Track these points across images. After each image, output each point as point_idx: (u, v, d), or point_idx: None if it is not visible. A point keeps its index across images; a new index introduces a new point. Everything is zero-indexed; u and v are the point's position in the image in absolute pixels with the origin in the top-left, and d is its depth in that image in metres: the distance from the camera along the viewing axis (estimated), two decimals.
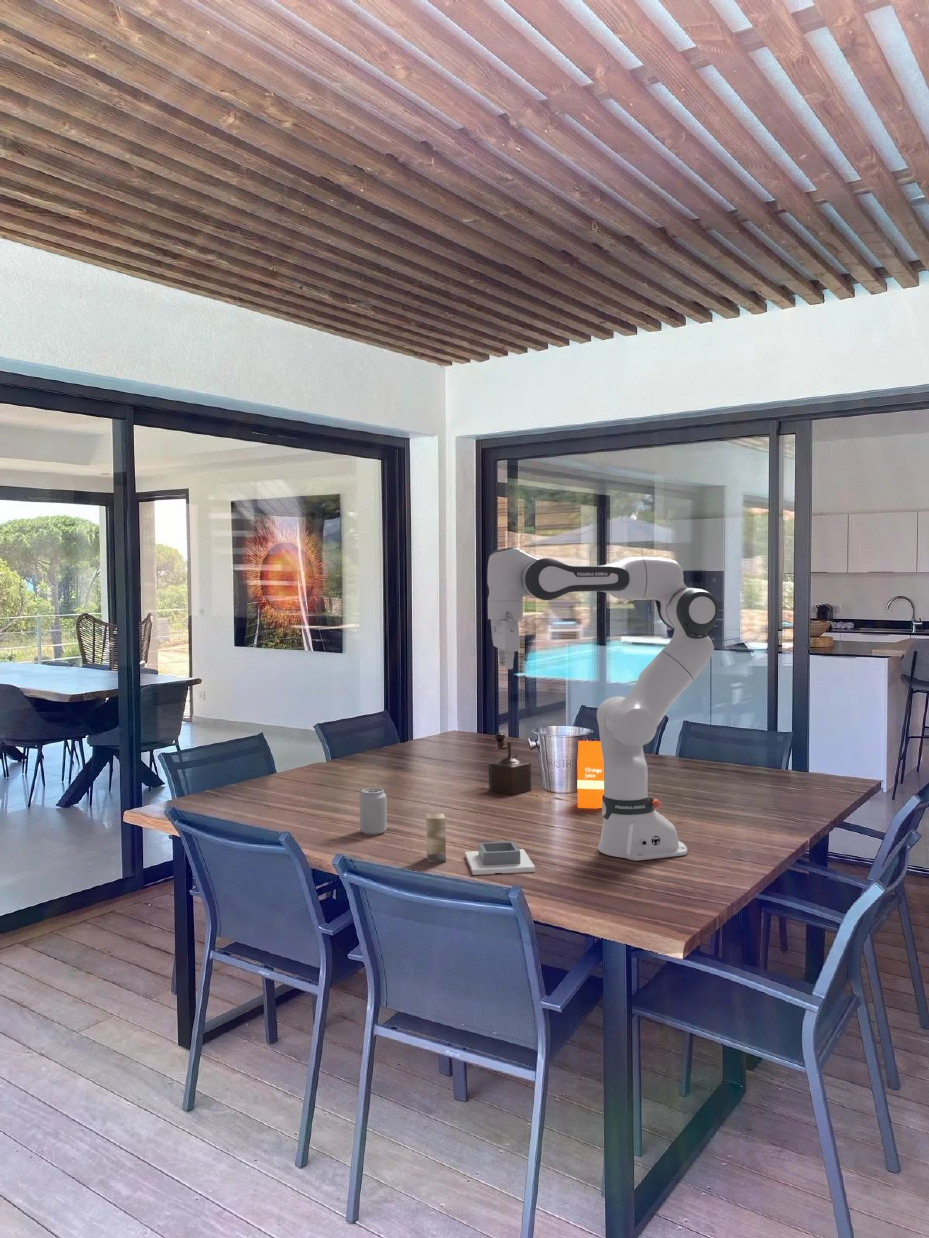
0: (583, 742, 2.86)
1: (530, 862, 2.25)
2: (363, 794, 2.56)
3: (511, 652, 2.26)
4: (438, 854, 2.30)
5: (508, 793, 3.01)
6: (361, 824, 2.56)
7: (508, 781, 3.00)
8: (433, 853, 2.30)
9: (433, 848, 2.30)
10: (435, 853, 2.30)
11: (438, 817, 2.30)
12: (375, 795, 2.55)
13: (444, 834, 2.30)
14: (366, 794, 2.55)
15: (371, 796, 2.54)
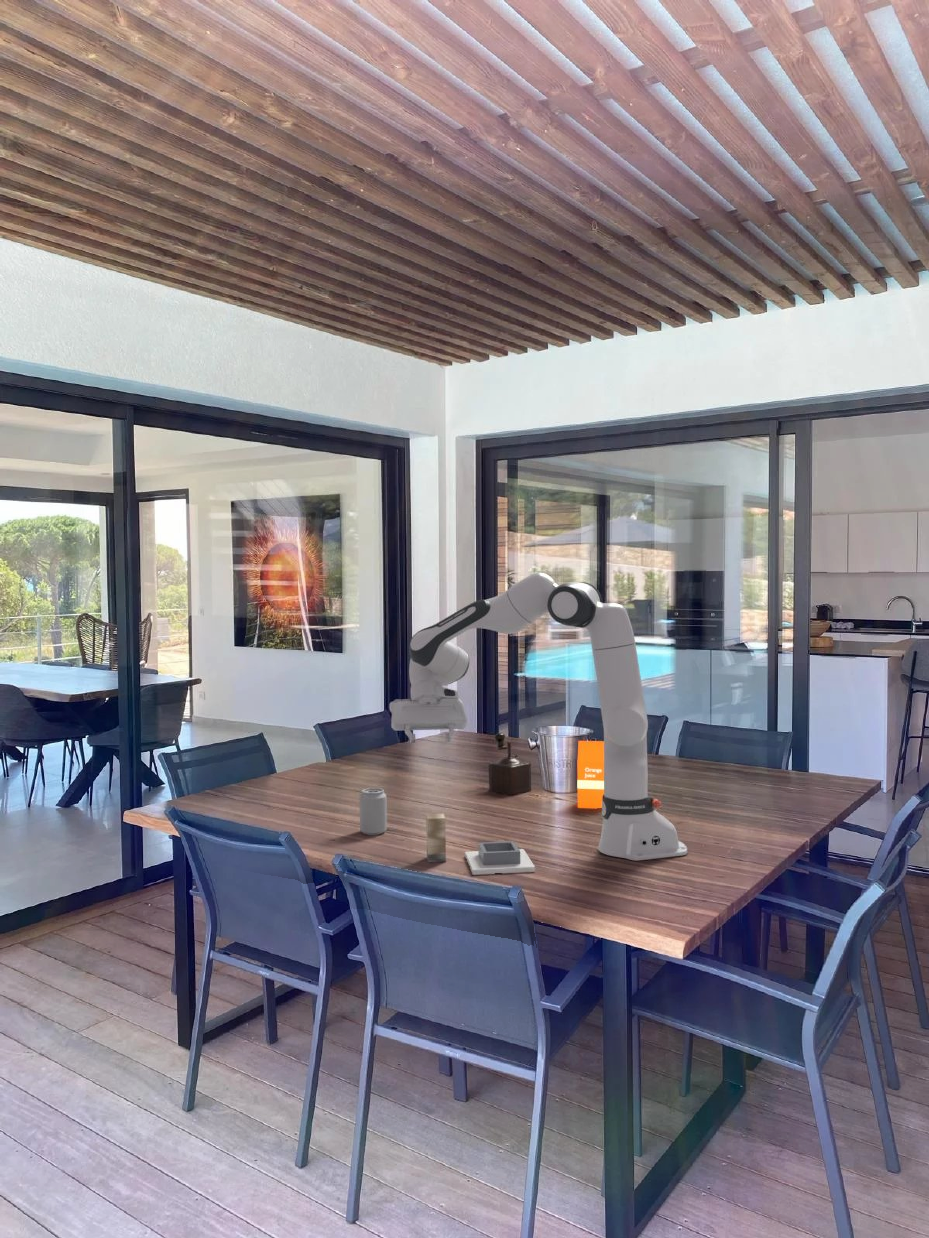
0: (583, 742, 2.86)
1: (530, 862, 2.25)
2: (363, 794, 2.56)
3: (405, 727, 2.45)
4: (438, 854, 2.30)
5: (508, 793, 3.01)
6: (361, 824, 2.56)
7: (508, 781, 3.00)
8: (433, 853, 2.30)
9: (433, 848, 2.30)
10: (435, 853, 2.30)
11: (438, 817, 2.30)
12: (375, 795, 2.55)
13: (444, 834, 2.30)
14: (366, 794, 2.55)
15: (371, 796, 2.54)
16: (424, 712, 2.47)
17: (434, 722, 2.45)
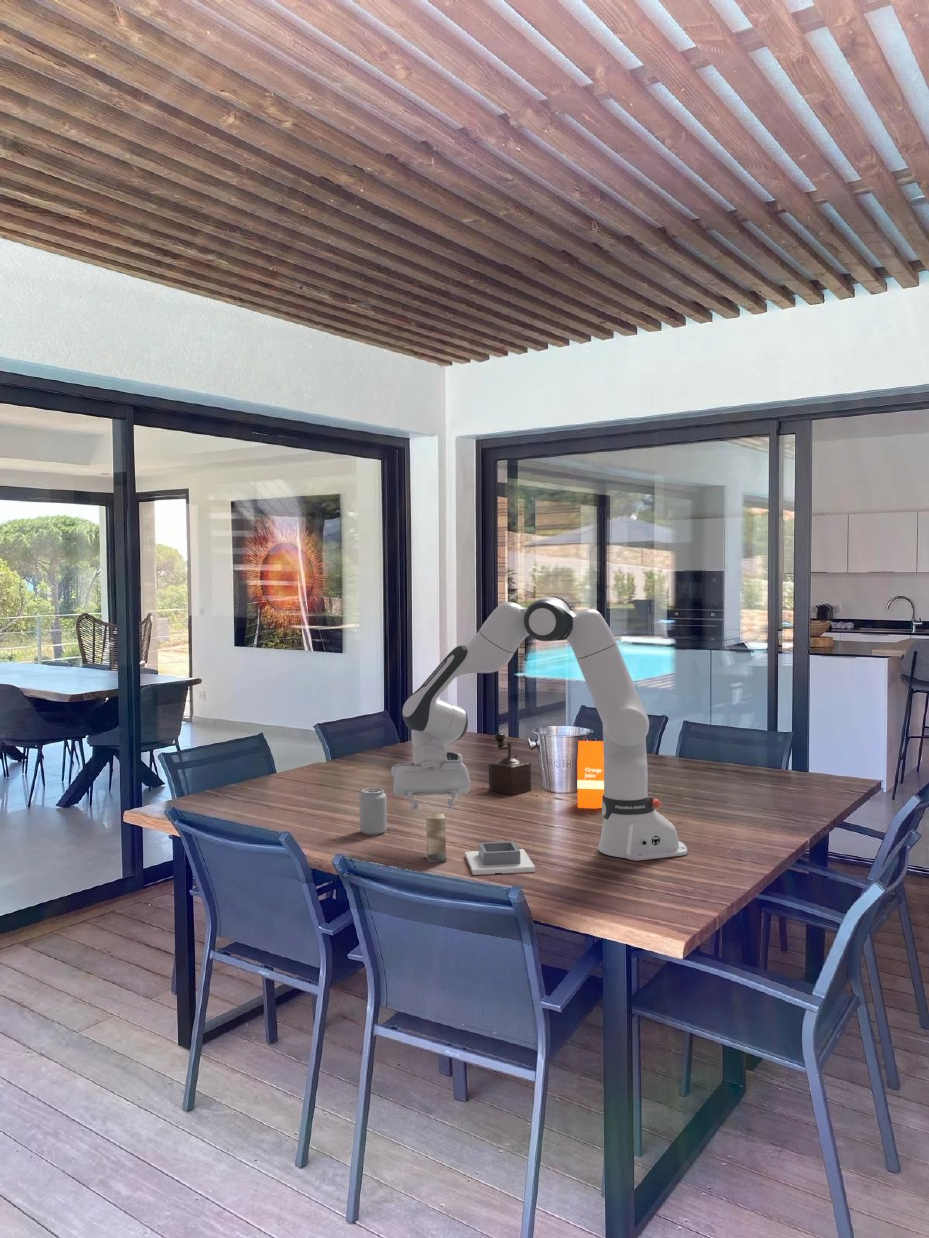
0: (583, 742, 2.86)
1: (530, 862, 2.25)
2: (363, 794, 2.56)
3: (407, 793, 2.40)
4: (438, 854, 2.30)
5: (508, 793, 3.01)
6: (361, 824, 2.56)
7: (508, 781, 3.00)
8: (433, 853, 2.30)
9: (433, 848, 2.30)
10: (435, 853, 2.30)
11: (438, 817, 2.30)
12: (375, 795, 2.55)
13: (444, 834, 2.30)
14: (366, 794, 2.55)
15: (371, 796, 2.54)
16: (426, 777, 2.42)
17: (437, 788, 2.40)
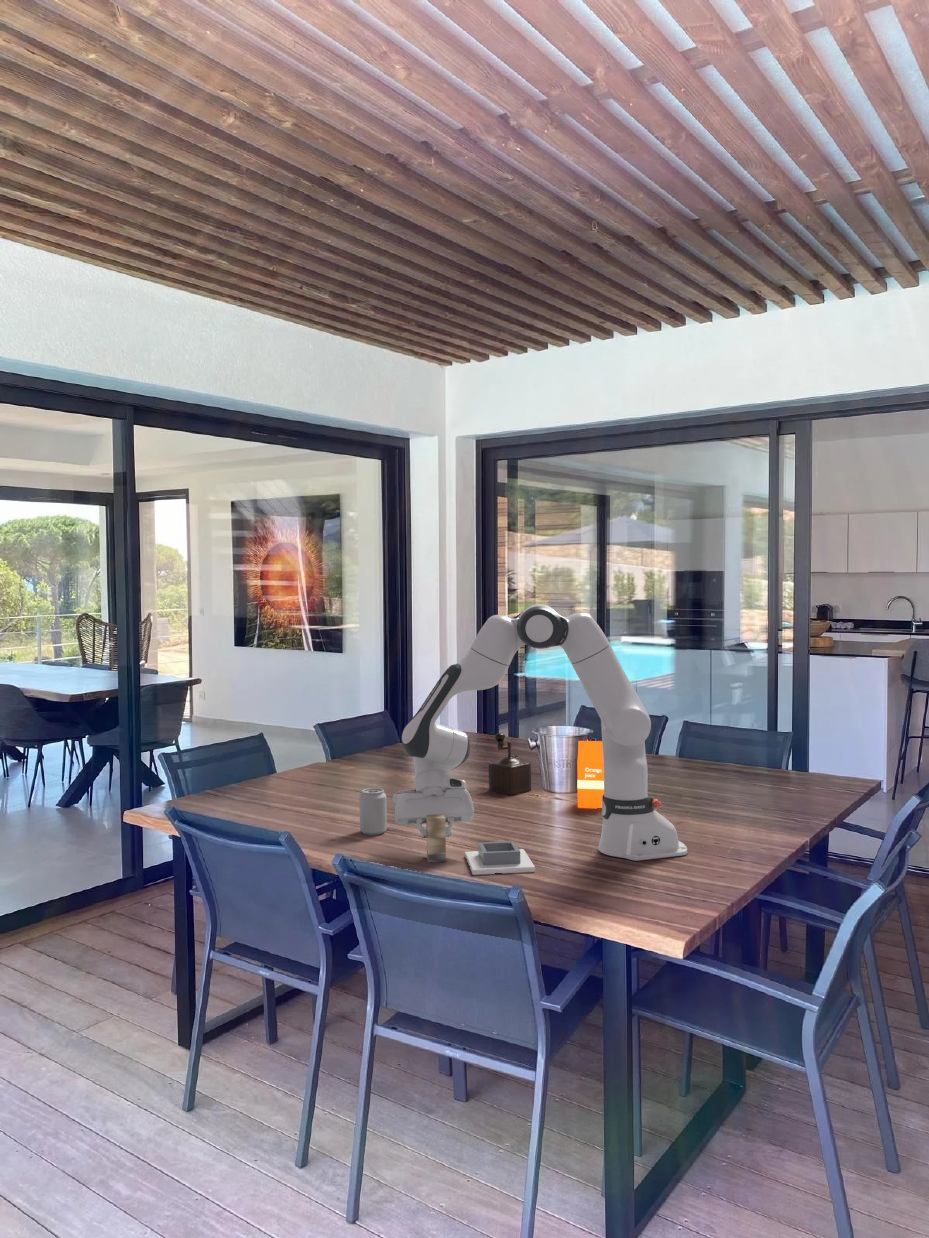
0: (583, 742, 2.86)
1: (530, 862, 2.25)
2: (363, 794, 2.56)
3: (416, 821, 2.33)
4: (438, 853, 2.30)
5: (508, 793, 3.01)
6: (361, 824, 2.56)
7: (508, 781, 3.00)
8: (433, 853, 2.30)
9: (433, 848, 2.30)
10: (435, 853, 2.30)
11: (438, 817, 2.30)
12: (375, 795, 2.55)
13: (444, 834, 2.30)
14: (366, 794, 2.55)
15: (371, 796, 2.54)
16: (429, 805, 2.35)
17: None
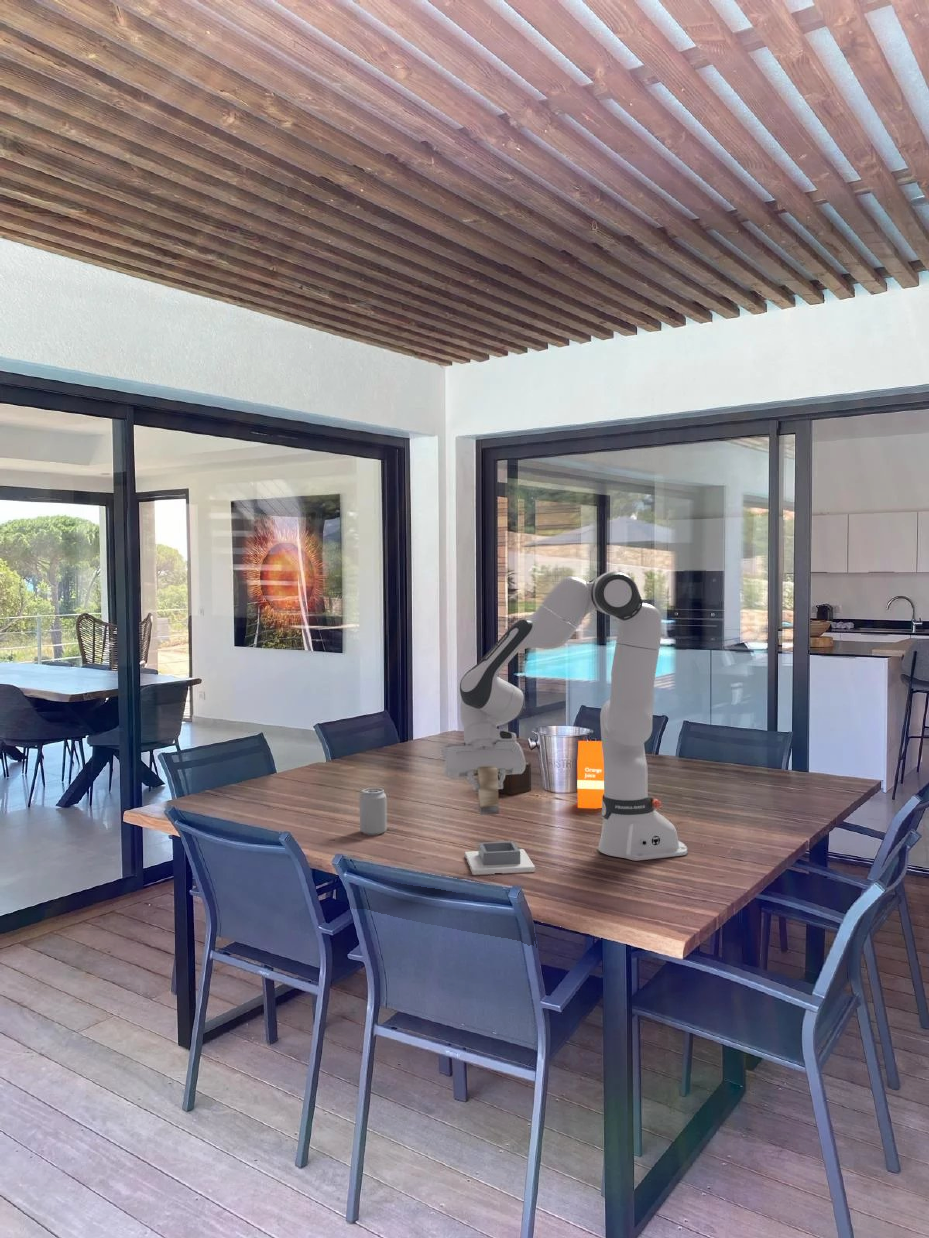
0: (583, 742, 2.86)
1: (530, 862, 2.25)
2: (363, 794, 2.56)
3: (467, 774, 2.29)
4: (491, 805, 2.26)
5: (508, 793, 3.01)
6: (361, 824, 2.56)
7: (508, 781, 3.00)
8: (486, 805, 2.26)
9: (486, 800, 2.26)
10: (488, 805, 2.26)
11: (490, 768, 2.27)
12: (375, 795, 2.55)
13: (497, 785, 2.26)
14: (366, 794, 2.55)
15: (371, 796, 2.54)
16: (480, 757, 2.31)
17: None
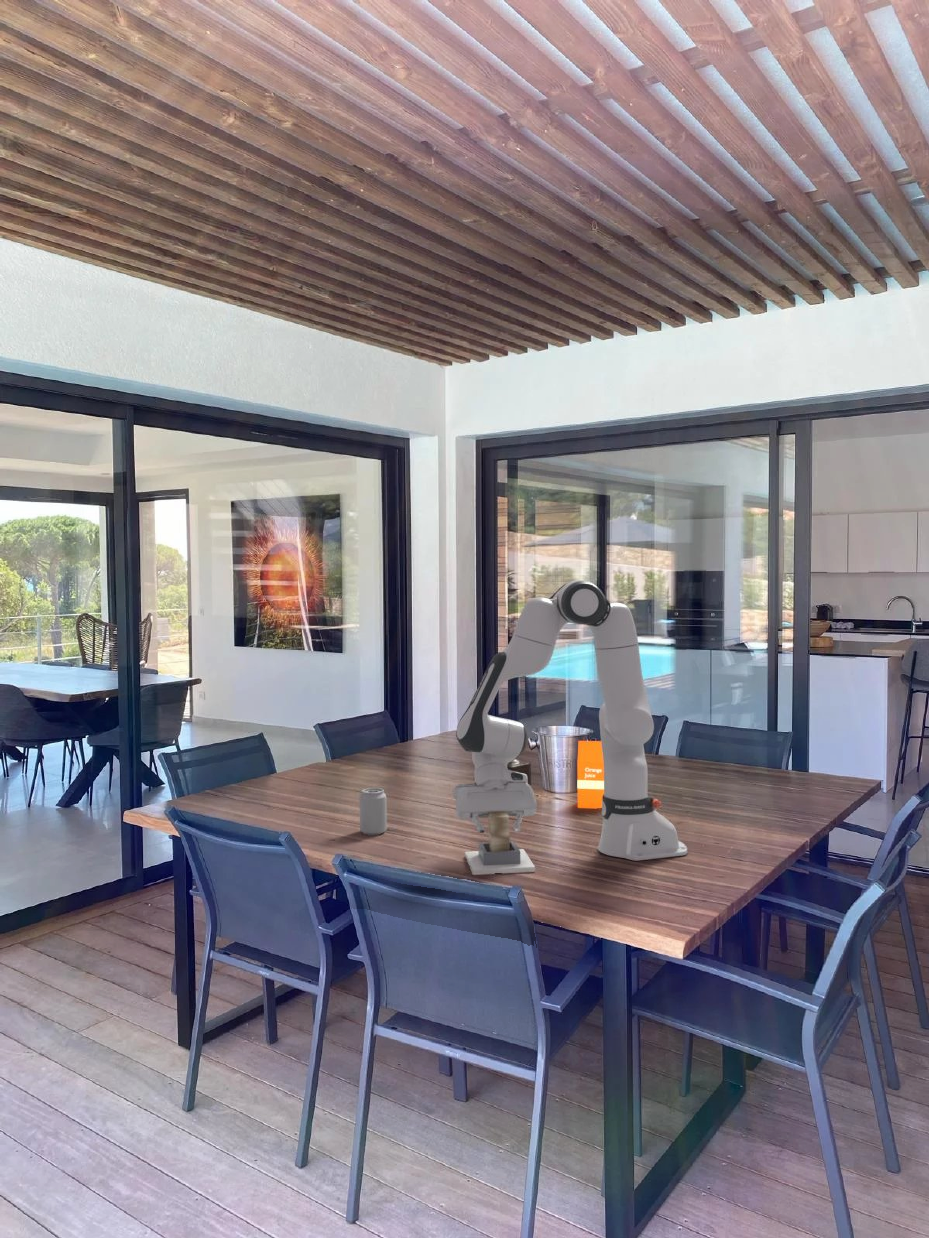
0: (583, 742, 2.86)
1: (530, 862, 2.25)
2: (363, 794, 2.56)
3: (472, 816, 2.29)
4: None
5: None
6: (361, 824, 2.56)
7: None
8: None
9: (497, 847, 2.25)
10: None
11: (501, 816, 2.26)
12: (375, 795, 2.55)
13: (508, 833, 2.26)
14: (366, 794, 2.55)
15: (371, 796, 2.54)
16: (491, 798, 2.31)
17: (502, 810, 2.29)
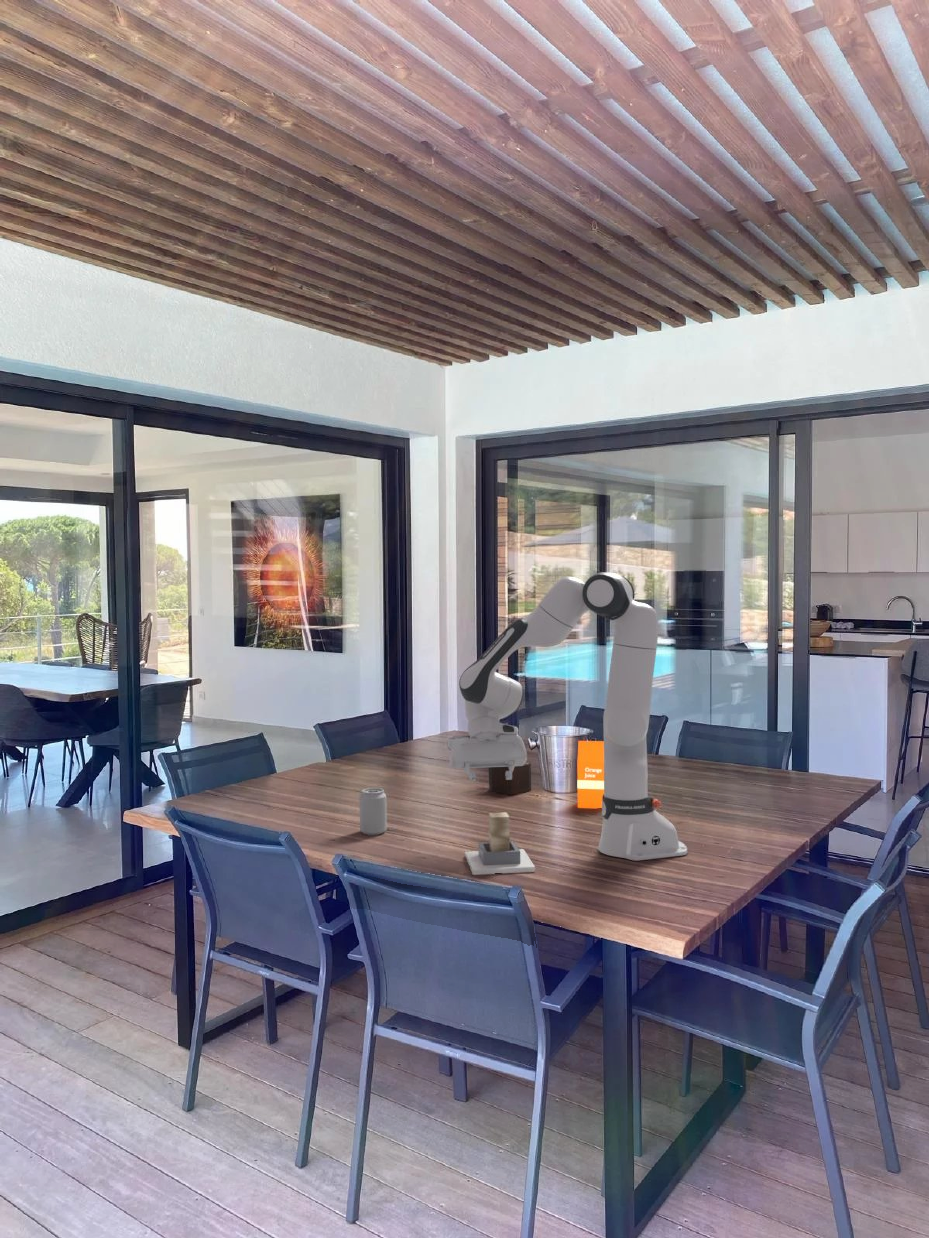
0: (583, 742, 2.86)
1: (530, 862, 2.25)
2: (363, 794, 2.56)
3: (464, 765, 2.40)
4: None
5: (508, 793, 3.01)
6: (361, 824, 2.56)
7: (508, 781, 3.00)
8: None
9: (497, 847, 2.25)
10: None
11: (502, 816, 2.26)
12: (375, 795, 2.55)
13: (508, 833, 2.26)
14: (366, 794, 2.55)
15: (371, 796, 2.54)
16: (483, 749, 2.42)
17: (494, 759, 2.41)
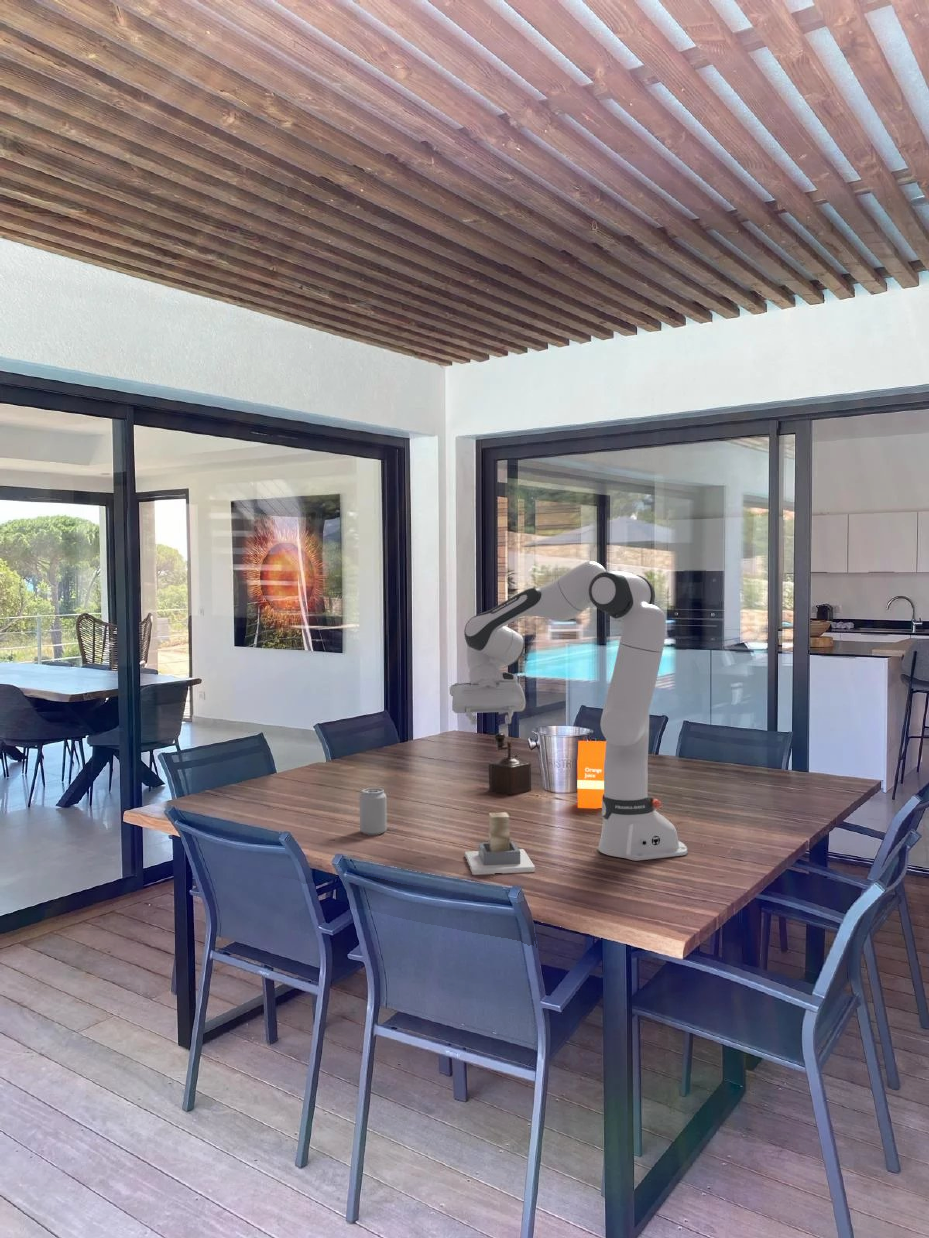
0: (583, 742, 2.86)
1: (530, 862, 2.25)
2: (363, 794, 2.56)
3: (466, 710, 2.52)
4: None
5: (508, 793, 3.01)
6: (361, 824, 2.56)
7: (508, 781, 3.00)
8: None
9: (497, 847, 2.25)
10: None
11: (502, 816, 2.26)
12: (375, 795, 2.55)
13: (508, 833, 2.26)
14: (366, 794, 2.55)
15: (371, 796, 2.54)
16: (484, 695, 2.54)
17: (494, 704, 2.52)
